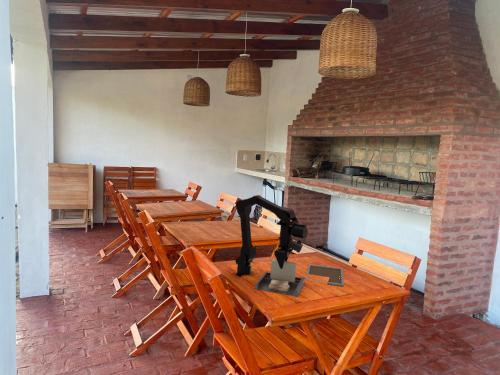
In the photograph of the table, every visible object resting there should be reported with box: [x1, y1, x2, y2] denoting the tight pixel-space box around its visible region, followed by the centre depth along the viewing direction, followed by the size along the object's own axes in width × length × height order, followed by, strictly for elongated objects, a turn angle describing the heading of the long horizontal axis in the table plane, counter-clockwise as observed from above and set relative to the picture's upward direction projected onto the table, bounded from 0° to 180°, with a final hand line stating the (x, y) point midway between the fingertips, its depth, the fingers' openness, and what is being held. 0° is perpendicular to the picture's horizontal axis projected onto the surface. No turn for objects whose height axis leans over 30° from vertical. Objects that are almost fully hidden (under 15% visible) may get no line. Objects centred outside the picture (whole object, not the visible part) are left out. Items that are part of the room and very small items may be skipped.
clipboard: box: [305, 264, 345, 288], centre depth 214 cm, size 19×2×30 cm
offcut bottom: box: [269, 283, 290, 292], centre depth 187 cm, size 9×5×2 cm, turn 73°
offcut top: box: [270, 280, 288, 288], centre depth 187 cm, size 8×4×2 cm, turn 79°
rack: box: [254, 270, 306, 298], centre depth 190 cm, size 20×19×4 cm
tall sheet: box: [270, 259, 297, 282], centre depth 193 cm, size 12×2×11 cm, turn 73°
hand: (283, 266), depth 193 cm, fingers open, 9 cm apart
